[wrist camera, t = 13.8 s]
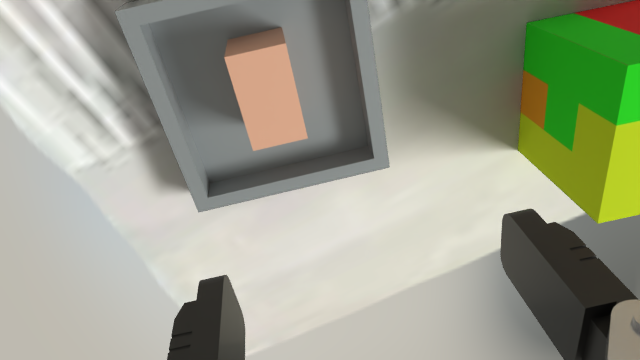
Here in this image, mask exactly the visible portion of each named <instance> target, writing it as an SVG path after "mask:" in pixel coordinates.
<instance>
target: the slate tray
mask: <svg viewBox="0 0 640 360" xmlns="http://www.w3.org/2000/svg"><path fill="white" fill-rule="evenodd" d="M115 14H116V16H117V19H118V21H119V23H120V26H121V28H122V31H123V33H124V35H125V38H126V40H127V43H128V45H129V47H130V50H131V52H132V54H133V57H134V59H135V62H136V64H137V66H138V69H139V71H140V74H141V76H142V78H143V81H144V83H145V86H146V88H147V90H148V93H149V95H150V98H151V100H152V102H153V105H154V107H155V109H156V112H157V114H158V117H159V119H160V121H161V124H162V126H163V129H164V131H165V133H166V136H167V138H168V141H169V143H170V145H171V148H172V150H173V152H174V155H175V157H176V160H177V162H178V164H179V167H180V169H181V172H182V174H183V176H184V179H185V181H186V184H187V186H188V188H189V191H190V193H191V195H192V198H193V200H194V203H195V205H196V207H197V210H198V212H203V211H207V210H211V209H215V208H220V207H224V206H228V205H232V204H237V203H241V202H245V201H249V200H254V199H258V198H262V197H266V196H270V195H275V194H279V193H283V192H287V191H292V190H296V189H300V188H304V187H309V186H313V185H317V184H321V183H326V182H330V181H334V180H338V179H342V178H347V177H351V176H355V175H359V174H364V173H368V172H372V171H376V170H381V169H385V168H389V167H390V166H389V158H388V151H387V143H386V136H385V128H384V121H383V114H382V106H381V99H380V91H379V84H378V76H377V69H376V62H375V54H374V47H373V39H372V32H371V24H370V17H369V10H368V2H367V0H137V1H133V2H128V3H125V4H124V5H123V6H121V7H120V8H119V9H117V10H116V11H115ZM280 27H282V29H283V34H284V38H285V42H286V46H287V50H288V55H289V59H290V63H291V68H292V72H293V76H294V81H295V85H296V89H297V93H298V98H299V102H300V106H301V111H302V115H303V119H304V123H305V128H306V132H307V136H308V138H307V139H303V140H299V141H294V142H290V143H286V144H282V145H277V146H273V147H269V148H264V149H260V150H256V151H253V149H252V146H251V143H250V139H249V136H248V133H247V130H246V126H245V123H244V120H243V117H242V113H241V110H240V107H239V104H238V100H237V97H236V94H235V91H234V88H233V84H232V81H231V78H230V75H229V71H228V68H227V65H226V62H225V58H224V56H225V51H226V46H227V40H228V39H233V38H237V37H241V36H246V35H250V34H254V33H259V32H263V31H267V30H271V29H276V28H280Z"/></svg>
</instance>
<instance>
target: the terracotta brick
mask: <svg viewBox="0 0 640 360" xmlns="http://www.w3.org/2000/svg"><path fill="white" fill-rule="evenodd" d="M224 58H225V62H226V65H227V68H228V71H229V75H230V78H231V81H232V84H233V88H234V91H235V94H236V97H237V100H238V104H239V107H240V110H241V113H242V117H243V120H244V123H245V126H246V130H247V133H248V136H249V139H250V143H251V146H252V149H253V151H256V150H260V149H264V148H269V147H273V146H277V145H282V144H286V143H290V142H294V141H299V140H303V139H307V138H308V136H307V132H306V128H305V123H304V119H303V115H302V111H301V106H300V102H299V98H298V93H297V89H296V85H295V81H294V76H293V72H292V68H291V63H290V59H289V55H288V50H287V46H286V42H285V38H284V34H283V29H282V27H280V28H276V29H271V30H267V31H263V32H259V33H254V34H250V35H246V36H241V37H237V38H233V39H228V40H227V46H226V51H225V56H224Z"/></svg>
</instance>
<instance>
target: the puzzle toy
mask: <svg viewBox="0 0 640 360" xmlns="http://www.w3.org/2000/svg"><path fill="white" fill-rule="evenodd" d="M518 151H519V152H520V153H521V154H523V155H524V156H525V157H526V158H527V159H528V160H529V161H530V162H531V163H532V164H533V165H534V166H536V167H537V168H538V169H539V170H540V171H541V172H542V173H543V174H544V175H545V176H546V177H548V178H549V179H550V180H551V181H552V182H553V183H554V184H555V185H556V186H557V187H558V188H560V189H561V190H562V191H563V192H564V193H565V194H566V195H567V196H568V197H569V198H570V199H571V200H573V201H574V202H575V203H576V204H577V205H578V206H579V207H580V208H581V209H582V210H583V211H585V212H586V213H587V214H588V215H589V216H590V217H591V218H592V219H593V220H594V221H595V222H597V223H602V222H607V221H612V220H616V219H621V218H625V217H630V216H635V215H639V214H640V0H635V1H630V2H625V3H620V4H616V5H611V6H606V7H601V8H596V9H591V10H586V11H581V12H577V13H572V14H567V15H562V16H557V17H552V18H547V19H542V20H538V21H533V22H528V23H527V25H526V40H525V54H524V68H523V83H522V97H521V112H520V126H519V140H518Z"/></svg>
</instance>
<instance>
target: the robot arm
mask: <svg viewBox="0 0 640 360" xmlns="http://www.w3.org/2000/svg"><path fill="white" fill-rule="evenodd" d="M501 261H502V265H503V268H504V270H505V272H506V274H507V276H508V277H509V279H510V280H511V282H512V283H513V285H514V286H515V288H516V289H517V291H518V292H519V294H520V295H521V297H522V298H523V299H524V301H525V303H526V304H527V306H528V307H529V308H530V310H531V311H532V313H533V314H534V316H535V317H536V319H537V320H538V322H539V323H540V325H541V326H542V328H543V329H544V330H545V332H546V334H547V335H548V336H549V338H550V339H551V341H552V342H553V344H554V345H555V347H556V348H557V350H558V351H559V353H560V354H561V356H562V357H563V359H564V360H640V300H638V298H636V296H634V294H633V293H632V292H631V291H630V290H629V289H628V288H627V287H626V286H625V285H624V284H623V283H622V282H621V281H620V280H619V279H618V278H617V277H616V276H615V275H614V274H613V273H612V272H611V271H610V270H609V269H608V267H607V266H606V265H604V263H603V262H602V261H601V260H600V259H599V258H598V259H597V258H596V255H595V254H594V253H593V252H592V251H591V250H590V249H589V248H587V247H586V245H585V244H584V243H583V241H582V240H581V239H579V237H578V236H577V235H576V234H575V233H574V232H572V231H571V230H569V229H567V228H565V227H563V226H561V225H560V224H558V223H556V222H553V223H549V224H547V223H546V222H545V221H544V220H543V219H542V218H541V217H540V216H539V215H538V213H537V212H536V211H535V210H533V209H527V210H522V211H517V212H513V213H508V214H505V215H504V216H503V219H502V236H501ZM169 351H170V352H169V353H168V358H167V360H245V324H244V318H243V314H242V311H241V308H240V305H239V303H238V300H237V298H236V295H235V293H234V290H233V288H232V285H231V282H230V280H229V278H228V276H227V275H223V276H219V277H214V278H209V279H205V280H201V281H200V282H199V286H198V293H197V300H196V301H191V302H187V303H184V305H183V306H182V308H181V310H180V311H179V313H178V315H177V316H176V318H175V320H174V325H173V330H172V339H171V342H170V347H169Z"/></svg>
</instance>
